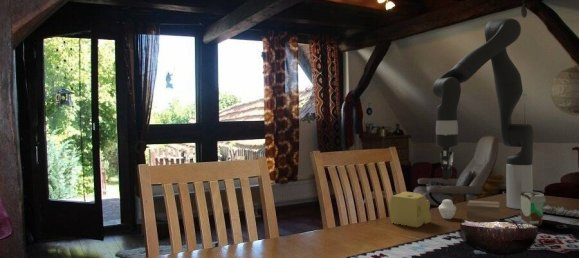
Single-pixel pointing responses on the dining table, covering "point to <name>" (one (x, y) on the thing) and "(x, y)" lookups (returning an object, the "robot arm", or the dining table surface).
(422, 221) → the cheese
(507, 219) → the dining table surface
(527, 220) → the food container
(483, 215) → the walnut block
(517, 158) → the robot arm
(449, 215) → the white vase
